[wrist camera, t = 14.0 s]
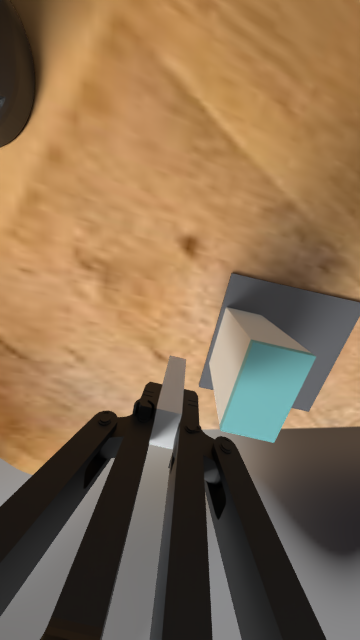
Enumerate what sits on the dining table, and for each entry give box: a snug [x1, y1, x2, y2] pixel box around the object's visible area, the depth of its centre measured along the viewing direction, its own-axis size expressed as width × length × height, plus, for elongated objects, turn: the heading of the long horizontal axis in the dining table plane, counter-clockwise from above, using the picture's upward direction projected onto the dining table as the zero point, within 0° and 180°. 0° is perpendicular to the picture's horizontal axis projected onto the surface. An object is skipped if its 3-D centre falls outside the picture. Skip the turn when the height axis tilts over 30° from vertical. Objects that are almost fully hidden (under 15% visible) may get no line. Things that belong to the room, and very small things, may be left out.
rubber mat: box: [199, 273, 360, 412], centre depth 27 cm, size 18×18×1 cm
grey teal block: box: [209, 307, 316, 443], centre depth 21 cm, size 9×5×12 cm, turn 168°
